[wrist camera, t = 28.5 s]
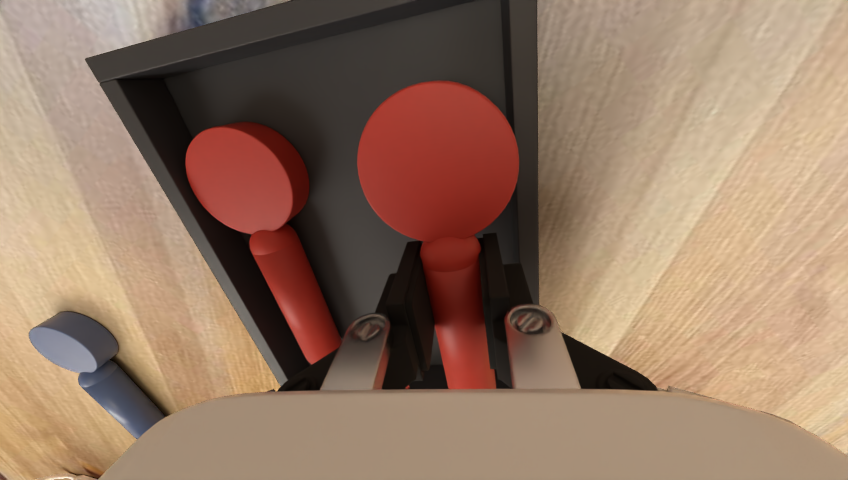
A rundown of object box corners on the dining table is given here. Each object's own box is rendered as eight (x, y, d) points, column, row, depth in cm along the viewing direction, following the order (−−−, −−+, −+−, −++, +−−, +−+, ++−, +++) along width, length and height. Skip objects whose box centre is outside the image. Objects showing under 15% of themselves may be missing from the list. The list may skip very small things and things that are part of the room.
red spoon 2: (354, 96, 10) (326, 101, 8) (508, 65, 9) (520, 61, 7) (428, 381, 16) (423, 423, 14) (522, 380, 15) (530, 425, 13)
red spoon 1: (193, 131, 14) (149, 140, 12) (286, 112, 13) (254, 118, 11) (303, 347, 20) (285, 376, 18) (370, 344, 19) (360, 374, 17)
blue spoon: (41, 313, 23) (1, 335, 21) (90, 309, 22) (53, 332, 20) (149, 423, 29) (127, 448, 27) (191, 424, 28) (171, 449, 26)
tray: (149, 61, 13) (83, 58, 11) (521, -37, 10) (537, -70, 8) (307, 368, 22) (289, 402, 20) (530, 363, 19) (539, 402, 17)
